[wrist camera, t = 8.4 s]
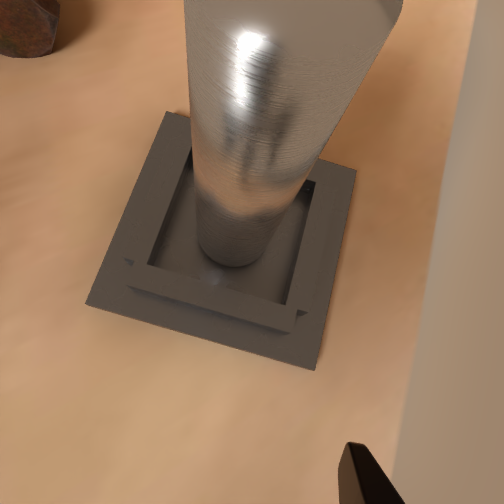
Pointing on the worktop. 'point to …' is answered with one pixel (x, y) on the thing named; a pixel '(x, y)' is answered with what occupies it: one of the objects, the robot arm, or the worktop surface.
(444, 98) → the worktop surface
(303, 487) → the worktop surface
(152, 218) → the block
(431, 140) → the worktop surface
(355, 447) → the robot arm
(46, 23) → the bolt
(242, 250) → the shiny tapered metal piece
